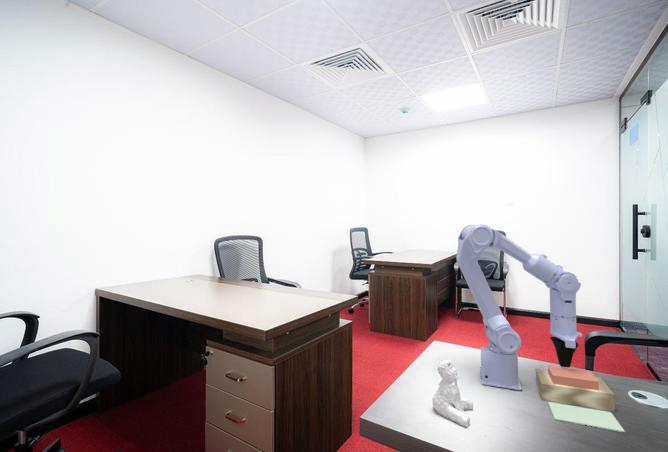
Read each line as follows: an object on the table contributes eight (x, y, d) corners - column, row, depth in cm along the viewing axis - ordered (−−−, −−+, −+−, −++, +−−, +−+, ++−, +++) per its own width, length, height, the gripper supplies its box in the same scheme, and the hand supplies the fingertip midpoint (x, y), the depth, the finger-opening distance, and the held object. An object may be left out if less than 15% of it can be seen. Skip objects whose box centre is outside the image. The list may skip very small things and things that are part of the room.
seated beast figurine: (469, 429, 68) (468, 372, 68) (428, 419, 72) (426, 365, 72) (473, 407, 76) (472, 356, 77) (436, 399, 80) (434, 351, 81)
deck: (542, 400, 79) (541, 383, 79) (536, 384, 87) (535, 369, 87) (614, 412, 73) (614, 394, 73) (600, 393, 81) (600, 377, 81)
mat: (554, 419, 71) (554, 418, 71) (548, 403, 78) (548, 401, 78) (624, 432, 66) (624, 431, 66) (610, 413, 73) (610, 412, 73)
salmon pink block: (553, 383, 79) (552, 375, 79) (548, 373, 84) (547, 365, 84) (599, 390, 75) (598, 381, 75) (590, 379, 81) (590, 371, 81)
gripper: (589, 324, 78) (591, 380, 78) (573, 310, 92) (575, 358, 92) (555, 321, 81) (557, 375, 81) (544, 308, 95) (545, 354, 94)
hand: (564, 366), depth 87 cm, fingers closed
